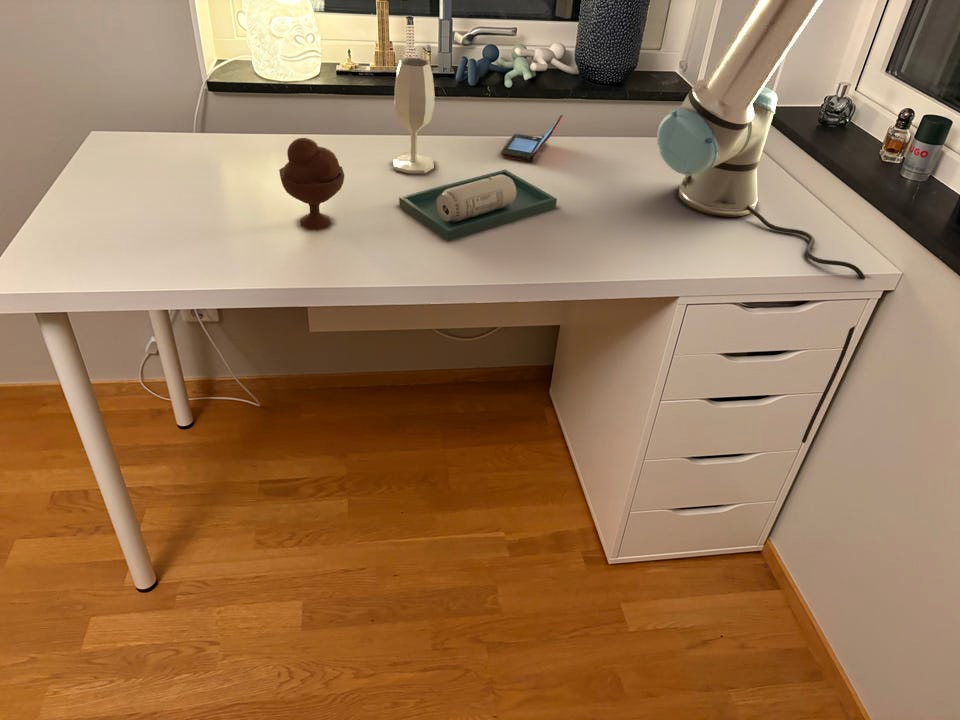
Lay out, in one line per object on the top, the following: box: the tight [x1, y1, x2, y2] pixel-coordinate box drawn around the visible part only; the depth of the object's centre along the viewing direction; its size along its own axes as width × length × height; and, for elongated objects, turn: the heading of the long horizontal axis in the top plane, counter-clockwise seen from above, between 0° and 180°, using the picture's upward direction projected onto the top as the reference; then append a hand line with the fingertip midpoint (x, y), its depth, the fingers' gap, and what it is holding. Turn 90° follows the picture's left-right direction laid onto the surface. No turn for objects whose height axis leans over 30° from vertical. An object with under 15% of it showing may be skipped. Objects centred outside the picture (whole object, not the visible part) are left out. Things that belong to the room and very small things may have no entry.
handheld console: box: [500, 114, 563, 163], centre depth 165 cm, size 12×11×7 cm
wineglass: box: [392, 56, 436, 174], centre depth 151 cm, size 9×9×21 cm
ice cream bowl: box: [278, 137, 345, 231], centre depth 130 cm, size 11×11×15 cm
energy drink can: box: [436, 174, 517, 222], centre depth 139 cm, size 6×6×15 cm
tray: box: [398, 169, 558, 242], centre depth 143 cm, size 16×26×2 cm, turn 128°
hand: (562, 16), depth 146 cm, fingers closed
